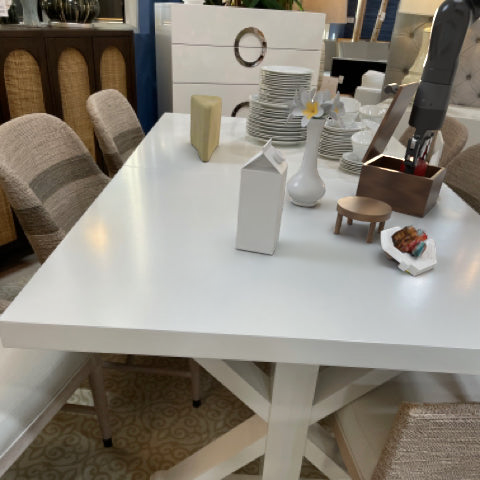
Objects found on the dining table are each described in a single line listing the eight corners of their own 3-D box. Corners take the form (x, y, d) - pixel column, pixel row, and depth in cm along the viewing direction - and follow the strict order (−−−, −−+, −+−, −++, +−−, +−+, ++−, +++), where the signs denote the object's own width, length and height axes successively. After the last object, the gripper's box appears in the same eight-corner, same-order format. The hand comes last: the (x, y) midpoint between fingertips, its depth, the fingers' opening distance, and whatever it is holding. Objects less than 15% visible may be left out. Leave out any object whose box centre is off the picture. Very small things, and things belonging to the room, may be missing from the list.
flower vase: (321, 190, 122) (339, 83, 108) (335, 217, 106) (358, 96, 93) (271, 187, 121) (283, 79, 107) (278, 213, 106) (293, 91, 92)
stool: (391, 232, 101) (399, 205, 98) (374, 248, 93) (381, 219, 90) (344, 218, 106) (349, 192, 103) (324, 233, 98) (329, 205, 95)
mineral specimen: (389, 231, 96) (408, 203, 91) (437, 266, 92) (459, 238, 87) (360, 252, 88) (378, 223, 83) (411, 291, 85) (432, 262, 80)
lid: (420, 82, 110) (402, 73, 111) (403, 87, 100) (383, 77, 101) (382, 153, 122) (366, 144, 123) (363, 163, 112) (346, 153, 113)
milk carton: (235, 249, 88) (242, 144, 78) (243, 235, 94) (251, 135, 84) (272, 255, 87) (284, 150, 77) (278, 241, 93) (291, 140, 83)
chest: (436, 203, 120) (447, 168, 115) (422, 218, 110) (433, 180, 105) (373, 188, 127) (380, 154, 122) (354, 200, 117) (362, 164, 112)
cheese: (221, 163, 137) (224, 107, 129) (188, 161, 136) (188, 105, 128) (219, 144, 155) (222, 94, 147) (190, 143, 154) (190, 92, 146)
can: (422, 190, 116) (430, 161, 113) (415, 196, 112) (424, 166, 108) (398, 184, 119) (406, 156, 115) (391, 190, 115) (398, 160, 111)
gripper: (440, 111, 98) (417, 190, 107) (454, 104, 109) (433, 177, 118) (404, 105, 101) (385, 182, 111) (422, 99, 112) (403, 170, 121)
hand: (410, 179), depth 114 cm, fingers closed on can, 6 cm apart
